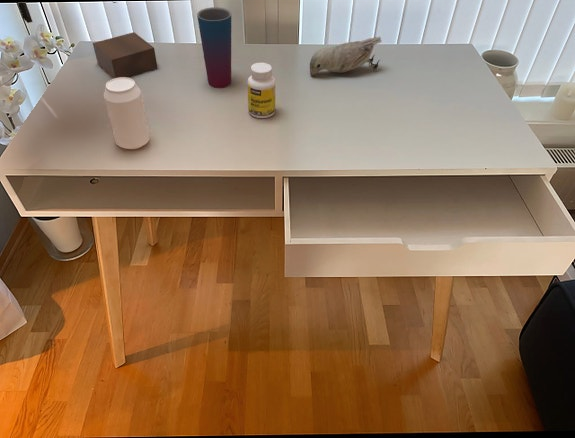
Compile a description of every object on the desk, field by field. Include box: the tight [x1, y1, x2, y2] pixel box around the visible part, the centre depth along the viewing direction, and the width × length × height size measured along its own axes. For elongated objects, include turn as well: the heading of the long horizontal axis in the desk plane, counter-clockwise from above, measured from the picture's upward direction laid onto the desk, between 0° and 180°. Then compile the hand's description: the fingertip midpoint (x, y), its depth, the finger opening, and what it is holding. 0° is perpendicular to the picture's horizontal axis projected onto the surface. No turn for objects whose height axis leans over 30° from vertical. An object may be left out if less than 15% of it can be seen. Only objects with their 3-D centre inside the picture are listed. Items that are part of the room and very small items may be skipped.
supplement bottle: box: [247, 62, 276, 119], centre depth 100 cm, size 5×5×10 cm
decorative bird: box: [309, 36, 382, 77], centre depth 114 cm, size 5×16×8 cm, turn 106°
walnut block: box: [92, 31, 158, 79], centre depth 115 cm, size 10×10×5 cm
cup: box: [196, 6, 232, 89], centre depth 107 cm, size 7×7×15 cm
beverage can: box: [103, 77, 151, 150], centre depth 91 cm, size 6×6×12 cm
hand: (72, 10), depth 81 cm, fingers open, 13 cm apart
